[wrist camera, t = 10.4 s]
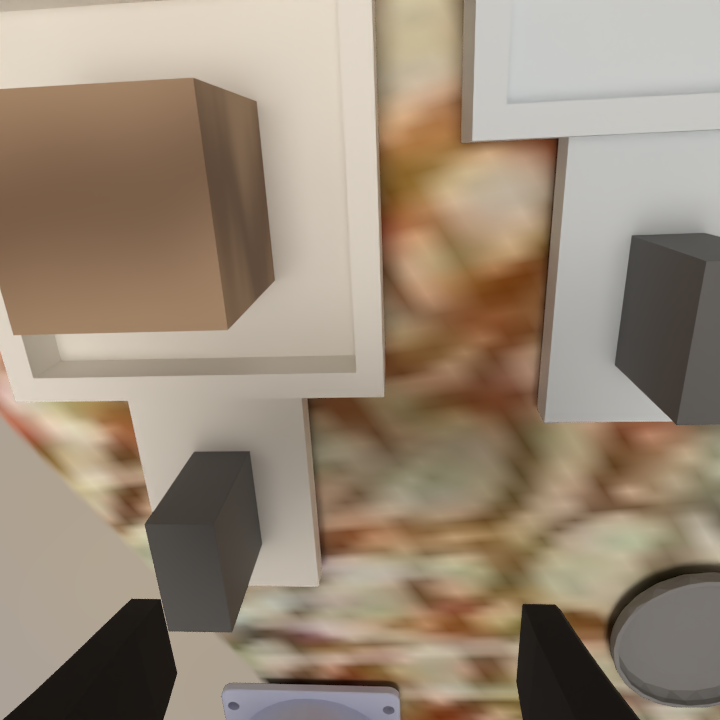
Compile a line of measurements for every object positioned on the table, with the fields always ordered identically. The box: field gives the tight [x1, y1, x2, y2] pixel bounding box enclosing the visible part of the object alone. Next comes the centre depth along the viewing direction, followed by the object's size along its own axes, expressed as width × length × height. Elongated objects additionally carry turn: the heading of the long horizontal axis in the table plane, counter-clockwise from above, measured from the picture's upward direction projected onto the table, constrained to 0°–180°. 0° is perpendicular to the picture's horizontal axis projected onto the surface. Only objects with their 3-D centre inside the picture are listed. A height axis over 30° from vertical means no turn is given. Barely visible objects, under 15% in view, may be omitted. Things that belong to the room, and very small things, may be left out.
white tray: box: [0, 0, 386, 632], centre depth 16 cm, size 20×12×5 cm, turn 3°
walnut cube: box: [0, 78, 275, 335], centre depth 14 cm, size 5×5×5 cm
